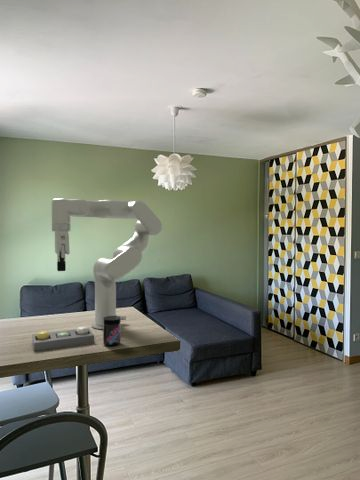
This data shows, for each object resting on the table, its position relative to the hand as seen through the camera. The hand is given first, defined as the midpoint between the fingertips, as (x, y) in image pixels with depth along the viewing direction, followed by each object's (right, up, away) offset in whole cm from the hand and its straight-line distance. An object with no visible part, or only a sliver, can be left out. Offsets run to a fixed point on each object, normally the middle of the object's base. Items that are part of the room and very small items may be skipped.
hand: (61, 270), depth 148 cm
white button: (+11, -25, -7) cm, 28 cm away
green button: (+4, -27, -10) cm, 29 cm away
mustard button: (-3, -25, -14) cm, 29 cm away
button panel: (+4, -28, -10) cm, 30 cm away
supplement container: (+24, -28, -12) cm, 39 cm away
